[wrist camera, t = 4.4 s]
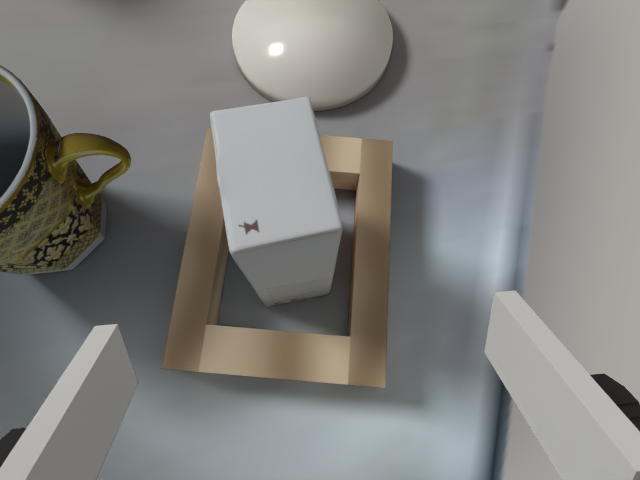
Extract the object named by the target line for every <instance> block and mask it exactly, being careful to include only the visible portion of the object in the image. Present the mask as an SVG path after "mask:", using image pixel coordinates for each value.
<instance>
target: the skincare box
mask: <svg viewBox="0 0 640 480" xmlns="http://www.w3.org/2000/svg"><path fill="white" fill-rule="evenodd" d="M210 122H211V128H212V135H213V142H214V150H215V157H216V170H217V180H218V185H219V189H220V195H221V202H222V209H223V215H224V221H225V228H226V234H227V240H228V246H229V251H230V254H231V255H232V257H233V259H234V260H235V262H236V263H237V265H238V266H239V268H240V269H241V270H242V272H243V273H244V275H245V276H246V278H247V279H248V281H249V282H250V284H251V285H252V287H253V288H254V290H255V291H256V293H257V294H258V296H259V297H260V299H261V300H262V302H263V303H264V305H265V306H266V307H269V306H274V305H279V304H284V303H289V302H294V301H298V300H303V299H307V298H312V297H317V296H321V295H327V294H329V293H330V290H331V285H332V279H333V274H334V270H335V265H336V260H337V254H338V249H339V244H340V239H341V233H342V223H341V218H340V214H339V209H338V204H337V200H336V195H335V191H334V187H333V183H332V179H331V176H330V172H329V169H328V165H327V162H326V158H325V154H324V151H323V147H322V143H321V139H320V135H319V131H318V127H317V123H316V119H315V115H314V112H313V108H312V104H311V99H310V97H308V96H306V97H301V98H295V99H289V100H283V101H277V102H272V103H265V104H258V105H252V106H245V107H239V108H232V109H225V110H217V111H212V112H211V113H210Z"/></svg>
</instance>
